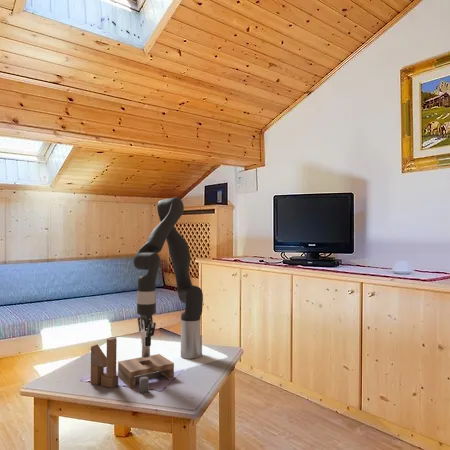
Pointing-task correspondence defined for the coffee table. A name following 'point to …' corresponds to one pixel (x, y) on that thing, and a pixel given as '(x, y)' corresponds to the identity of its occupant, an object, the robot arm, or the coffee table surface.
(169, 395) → the coffee table surface
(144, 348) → the long pin
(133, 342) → the coffee table surface
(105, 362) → the brown angled frame
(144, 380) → the short pin
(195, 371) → the coffee table surface
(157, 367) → the brown block with hole
